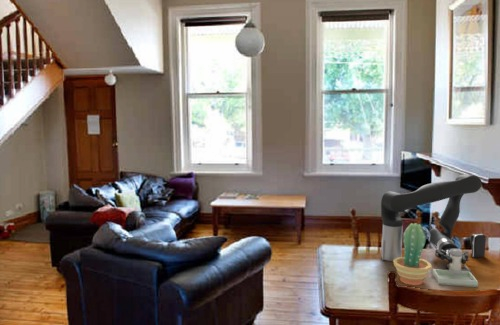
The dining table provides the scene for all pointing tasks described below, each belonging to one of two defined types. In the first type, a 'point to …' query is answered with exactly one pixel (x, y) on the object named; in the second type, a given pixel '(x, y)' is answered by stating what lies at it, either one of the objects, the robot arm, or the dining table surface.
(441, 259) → the robot arm
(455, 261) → the fuse
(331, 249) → the dining table surface
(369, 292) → the dining table surface
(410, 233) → the potted cactus
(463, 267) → the grey u-shaped bracket
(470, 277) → the parts tray
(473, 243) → the dark grey block
